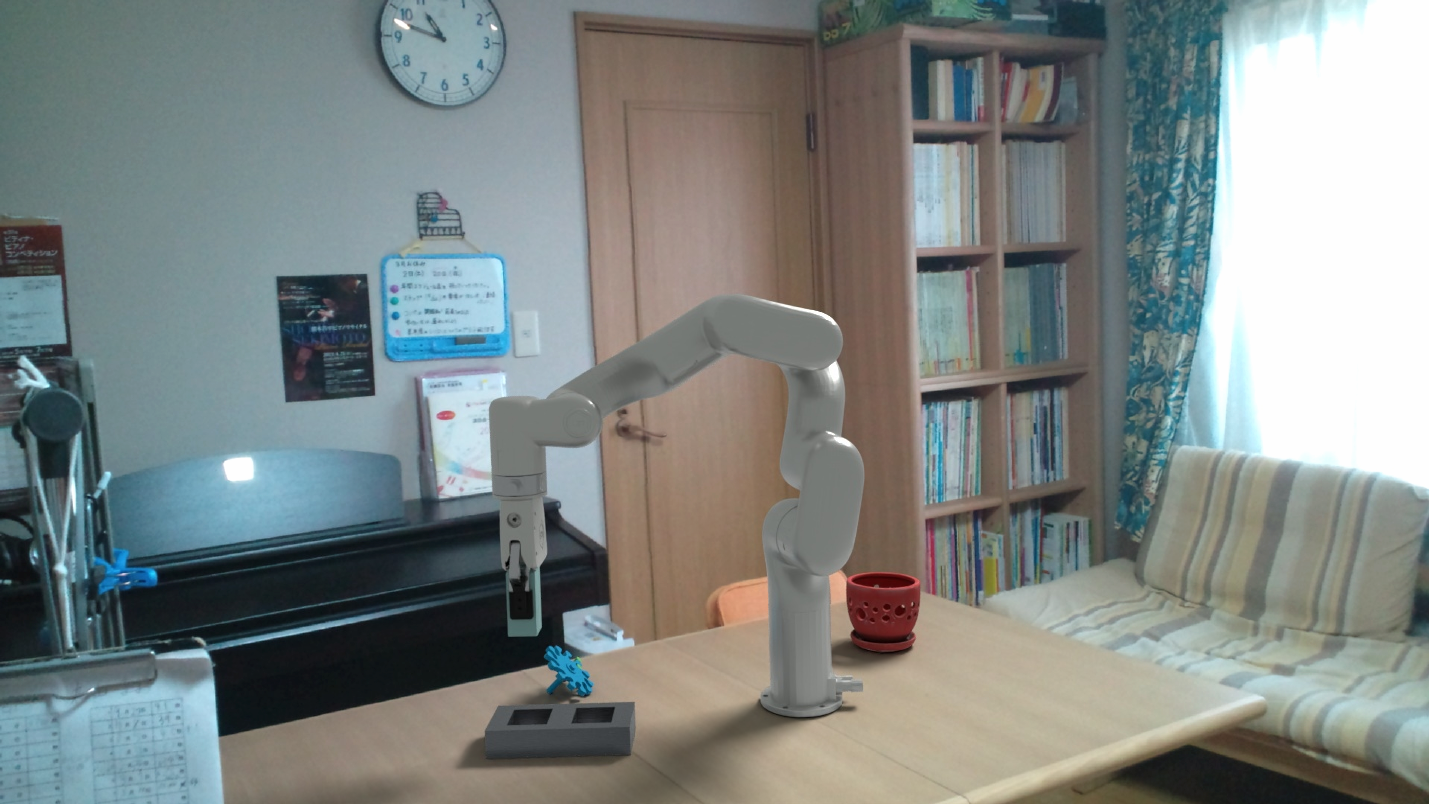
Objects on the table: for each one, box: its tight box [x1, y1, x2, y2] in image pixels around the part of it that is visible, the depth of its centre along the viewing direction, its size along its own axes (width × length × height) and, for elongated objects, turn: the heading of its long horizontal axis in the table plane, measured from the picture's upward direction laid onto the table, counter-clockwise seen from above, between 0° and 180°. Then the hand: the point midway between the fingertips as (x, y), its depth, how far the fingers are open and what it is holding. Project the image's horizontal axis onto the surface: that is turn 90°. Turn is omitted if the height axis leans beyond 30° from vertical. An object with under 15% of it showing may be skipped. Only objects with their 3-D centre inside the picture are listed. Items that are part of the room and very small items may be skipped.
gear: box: [543, 645, 595, 697], centre depth 166 cm, size 11×6×10 cm
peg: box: [505, 565, 543, 637], centre depth 145 cm, size 4×4×9 cm
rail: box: [484, 701, 637, 760], centre depth 146 cm, size 20×9×4 cm, turn 90°
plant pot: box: [845, 571, 922, 654], centre depth 184 cm, size 13×13×12 cm
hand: (525, 612), depth 145 cm, fingers closed on peg, 4 cm apart
